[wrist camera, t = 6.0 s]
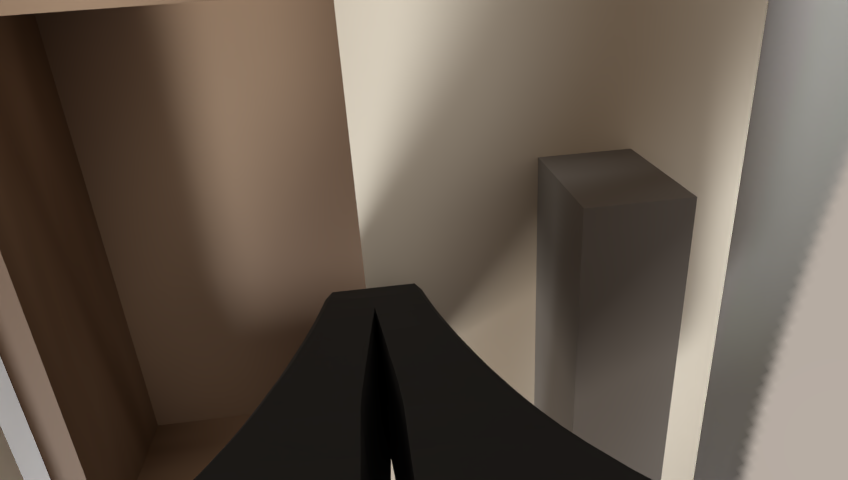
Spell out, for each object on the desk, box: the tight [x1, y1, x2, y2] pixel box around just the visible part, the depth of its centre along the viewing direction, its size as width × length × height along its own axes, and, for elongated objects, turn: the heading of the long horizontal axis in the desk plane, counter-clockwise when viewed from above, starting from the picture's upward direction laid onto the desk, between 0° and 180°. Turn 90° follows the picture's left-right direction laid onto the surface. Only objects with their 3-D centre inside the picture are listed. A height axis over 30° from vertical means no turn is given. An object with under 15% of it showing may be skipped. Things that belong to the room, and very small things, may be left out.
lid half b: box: [334, 0, 769, 480], centre depth 10 cm, size 6×11×3 cm, turn 3°
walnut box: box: [0, 0, 366, 480], centre depth 13 cm, size 12×11×4 cm
